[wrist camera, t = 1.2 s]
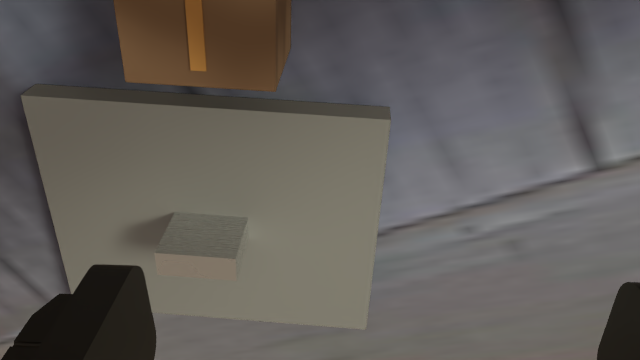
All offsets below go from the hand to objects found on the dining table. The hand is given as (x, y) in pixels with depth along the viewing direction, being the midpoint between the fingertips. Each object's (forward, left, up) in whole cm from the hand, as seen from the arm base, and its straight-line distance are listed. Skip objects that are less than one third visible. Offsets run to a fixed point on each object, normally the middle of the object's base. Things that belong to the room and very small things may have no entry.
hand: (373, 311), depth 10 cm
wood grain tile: (+11, -7, -17) cm, 22 cm away
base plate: (+11, -7, -19) cm, 23 cm away
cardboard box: (-2, -6, -19) cm, 20 cm away
